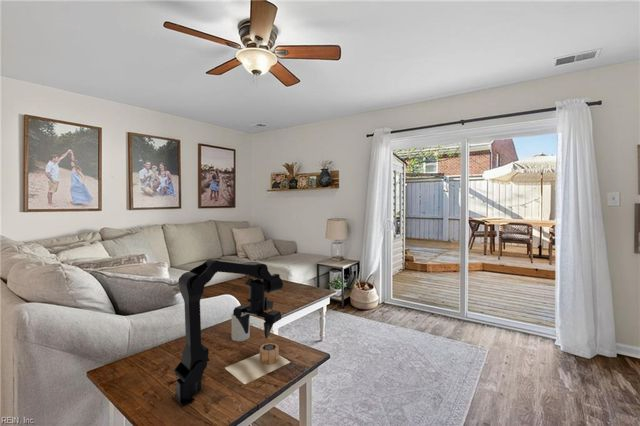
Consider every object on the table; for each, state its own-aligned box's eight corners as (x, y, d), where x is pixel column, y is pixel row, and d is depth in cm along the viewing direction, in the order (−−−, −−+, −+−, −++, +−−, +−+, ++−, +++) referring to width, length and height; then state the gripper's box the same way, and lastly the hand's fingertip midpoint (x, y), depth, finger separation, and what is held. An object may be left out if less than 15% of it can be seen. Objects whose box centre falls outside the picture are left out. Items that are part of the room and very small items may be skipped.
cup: (227, 338, 136) (227, 312, 136) (240, 332, 143) (240, 307, 143) (241, 342, 132) (241, 316, 132) (253, 335, 139) (253, 310, 139)
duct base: (244, 388, 100) (244, 369, 99) (224, 371, 109) (224, 354, 109) (290, 365, 114) (290, 349, 114) (269, 352, 124) (269, 337, 123)
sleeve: (273, 365, 111) (273, 352, 111) (257, 363, 113) (257, 350, 113) (280, 356, 118) (280, 344, 117) (265, 354, 119) (265, 342, 119)
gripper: (289, 293, 117) (288, 332, 117) (250, 287, 125) (249, 324, 125) (273, 301, 107) (272, 344, 107) (232, 294, 114) (231, 334, 115)
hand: (256, 335), depth 114 cm, fingers open, 9 cm apart
